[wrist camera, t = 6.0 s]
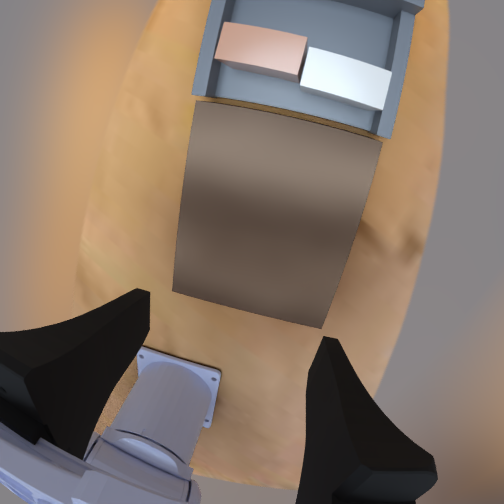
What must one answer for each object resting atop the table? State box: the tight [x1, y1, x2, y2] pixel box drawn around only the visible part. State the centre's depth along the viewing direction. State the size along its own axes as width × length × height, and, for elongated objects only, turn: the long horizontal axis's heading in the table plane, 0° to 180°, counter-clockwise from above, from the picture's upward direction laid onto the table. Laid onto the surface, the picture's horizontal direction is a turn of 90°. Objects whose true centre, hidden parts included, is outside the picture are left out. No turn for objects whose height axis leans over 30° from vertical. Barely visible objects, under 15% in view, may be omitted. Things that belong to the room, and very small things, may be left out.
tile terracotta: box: [215, 22, 308, 83], centre depth 15 cm, size 4×4×2 cm
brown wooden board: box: [172, 101, 383, 329], centre depth 19 cm, size 12×10×3 cm
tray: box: [192, 0, 425, 139], centre depth 14 cm, size 8×11×4 cm
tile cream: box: [300, 47, 392, 111], centre depth 15 cm, size 4×4×2 cm
